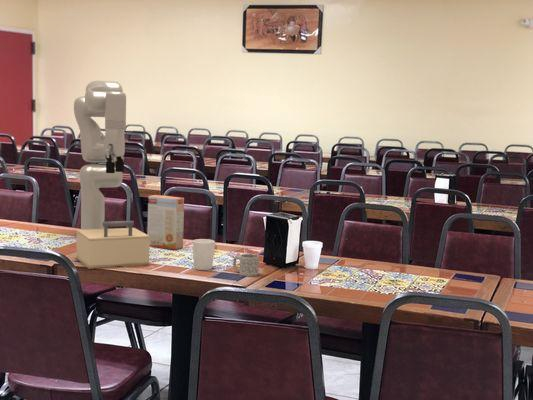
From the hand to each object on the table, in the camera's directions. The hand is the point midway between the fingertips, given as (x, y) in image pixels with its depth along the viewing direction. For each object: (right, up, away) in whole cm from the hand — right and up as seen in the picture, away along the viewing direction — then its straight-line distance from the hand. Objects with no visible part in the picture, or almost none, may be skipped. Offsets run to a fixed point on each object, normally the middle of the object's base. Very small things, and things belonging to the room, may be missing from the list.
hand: (115, 172), depth 282 cm
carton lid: (0, -23, -3) cm, 23 cm away
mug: (+48, -37, -10) cm, 61 cm away
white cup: (+33, -35, -5) cm, 48 cm away
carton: (-1, -33, -1) cm, 33 cm away
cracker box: (+14, -30, +30) cm, 45 cm away
